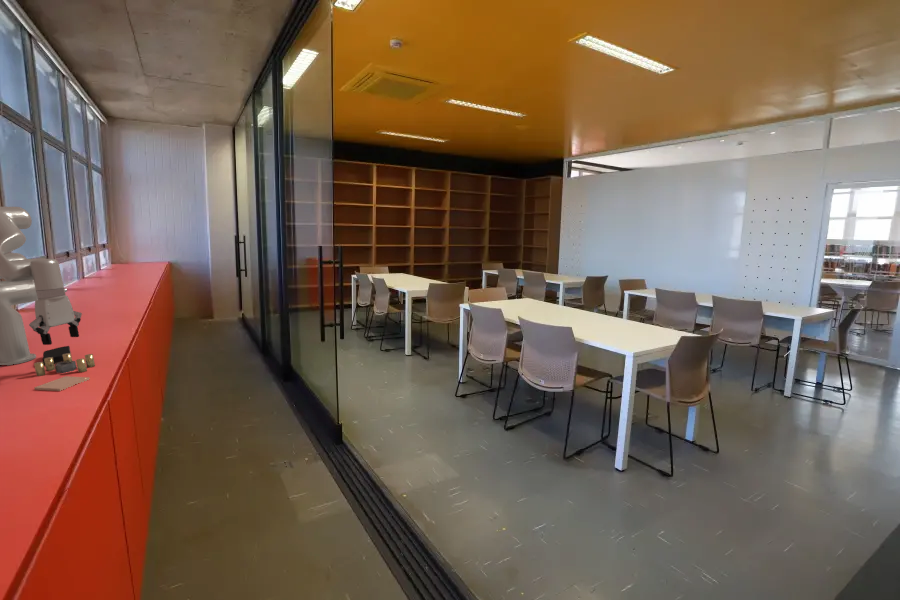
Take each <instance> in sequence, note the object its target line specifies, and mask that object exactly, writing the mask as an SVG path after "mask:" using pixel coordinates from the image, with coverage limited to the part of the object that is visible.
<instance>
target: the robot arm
mask: <svg viewBox="0 0 900 600" xmlns="http://www.w3.org/2000/svg"><path fill="white" fill-rule="evenodd" d="M32 220H33V219H32V217H31V214H30V213H29V212H28V211H27V210H26V209H24V208H22V207H20V206H0V279H3V280H1V281H0V365H7V366H13V364H14V365H18V364H19V365H20V364H22V363H27V362H31V361H32V360H35V359H36V358H37V355H36V354H35V353H31V351H30V347H29V343H28V339H27V338H28V337H27V333H26V329H25V325H24V321H23V315H22V314H21V313H20V312H19V311H17V310H16V309H15V308H13V307H12V306H14V305H15V306H16V305H21V304H27V303H33V302H34V315H35V319H34V320H32V321H30V323H29V327H30V328H31V329H32V330H33V331H34V332H35V333H37V334H38V335H39V336H40V340H41V343H42V345H43V346H46V345H47V346H51V345H52V344H53V342H52V337H51V333H49V331H50V329H51V328H54V327H59V326H62V325H66V324H67V325H68V332H69V336H70V338H78V337H80V334H79V329H78V327H79V323H80V322H81V320H82V315H83V313H82V312H81V311H76V310H74V309H73V306H72V303H71V301H70V298H69V297H68V295H66V293H67V292H68V289H67V288H66V287H65V286H64V282H63V276H62V273H61V267H60V263H59V261H58V259H55V258H44V257H38V258H27V257H26V256H25V255H23V254H22V253H19V252H13V251H15V250H17V249H19V248H21V247H22V246H24V244H25V243H26V242H27V238H26V237H27V236H26V235H25V234H24V233H23V231H22V230H26V229H29V228H30V227H31V226H32Z"/></svg>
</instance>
